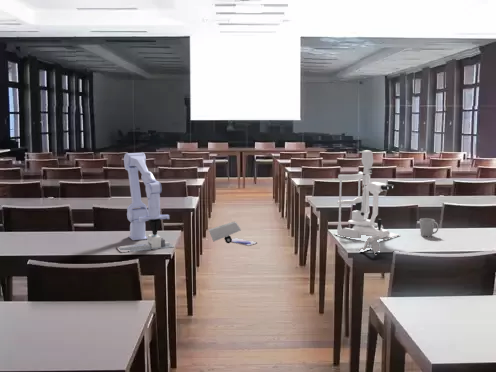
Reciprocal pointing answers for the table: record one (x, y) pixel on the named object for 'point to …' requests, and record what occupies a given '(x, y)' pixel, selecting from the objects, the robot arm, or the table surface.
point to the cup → (427, 226)
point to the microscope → (364, 204)
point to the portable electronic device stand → (373, 242)
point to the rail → (145, 246)
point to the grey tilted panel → (224, 231)
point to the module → (154, 241)
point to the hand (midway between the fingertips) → (154, 234)
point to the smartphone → (243, 242)
